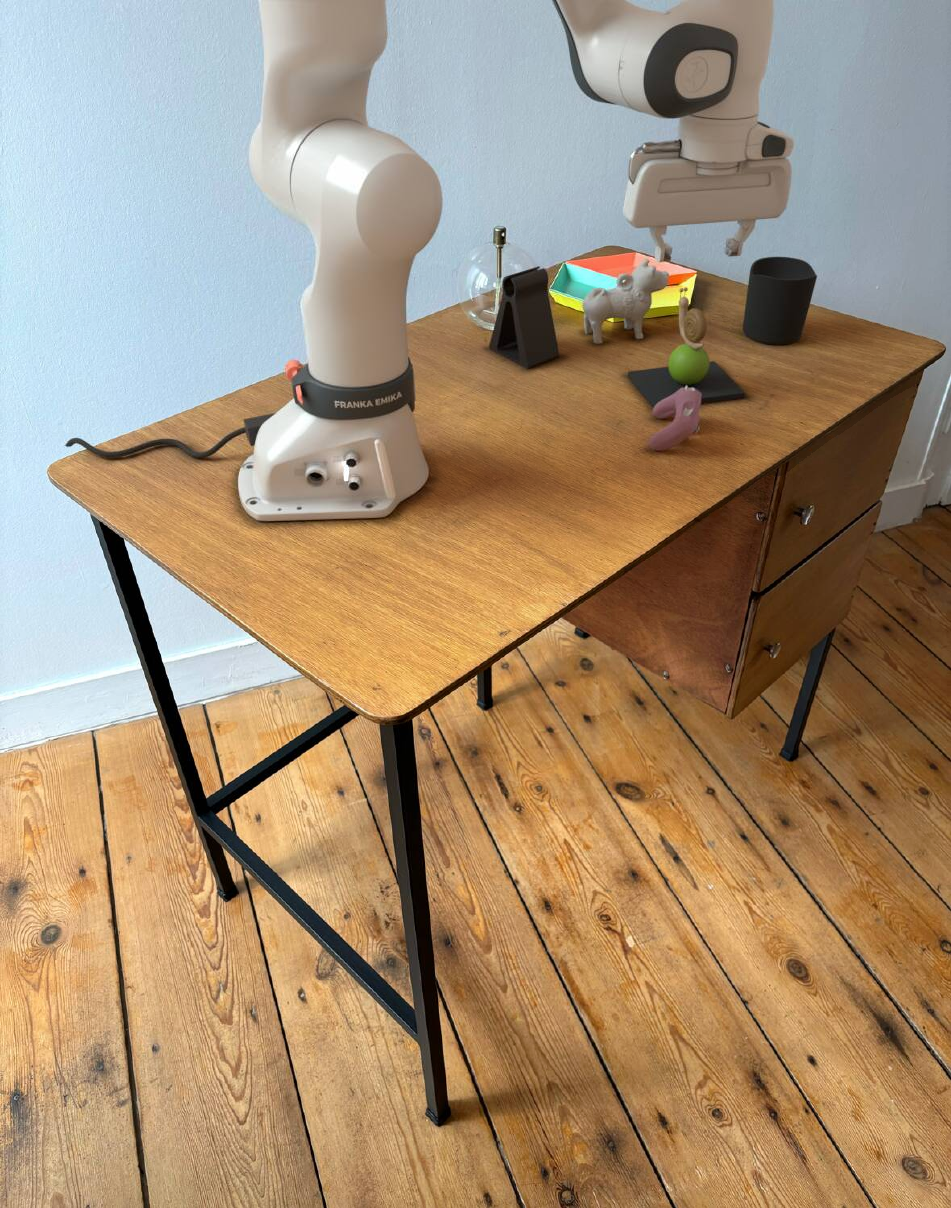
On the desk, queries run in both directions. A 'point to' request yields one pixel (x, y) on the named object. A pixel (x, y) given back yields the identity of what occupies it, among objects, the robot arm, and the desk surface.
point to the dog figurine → (624, 300)
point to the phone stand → (525, 320)
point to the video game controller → (677, 418)
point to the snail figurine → (689, 346)
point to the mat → (663, 385)
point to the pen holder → (778, 299)
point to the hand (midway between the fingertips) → (697, 257)
